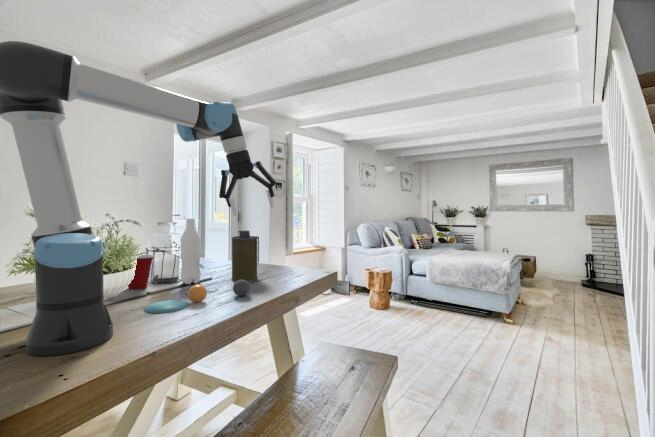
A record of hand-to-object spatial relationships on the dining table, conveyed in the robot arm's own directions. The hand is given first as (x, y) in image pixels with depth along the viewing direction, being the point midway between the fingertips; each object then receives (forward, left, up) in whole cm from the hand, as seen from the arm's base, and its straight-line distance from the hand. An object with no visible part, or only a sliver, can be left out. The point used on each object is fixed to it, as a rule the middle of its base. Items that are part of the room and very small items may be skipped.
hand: (254, 211), depth 113 cm
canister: (+15, +13, -29) cm, 35 cm away
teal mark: (-24, +15, -28) cm, 41 cm away
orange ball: (-18, +10, -26) cm, 33 cm away
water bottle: (+2, +29, -29) cm, 41 cm away
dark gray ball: (-7, +1, -26) cm, 27 cm away
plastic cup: (-10, +42, -29) cm, 52 cm away
